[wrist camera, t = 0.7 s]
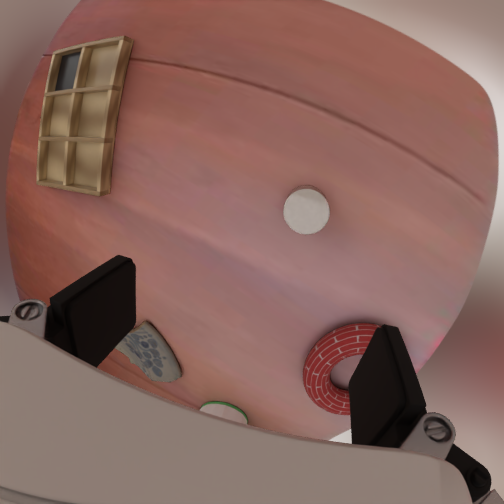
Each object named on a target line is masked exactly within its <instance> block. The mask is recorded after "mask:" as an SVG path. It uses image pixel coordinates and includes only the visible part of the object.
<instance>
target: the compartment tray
mask: <svg viewBox="0 0 504 504" xmlns="http://www.w3.org/2000/svg"><path fill="white" fill-rule="evenodd" d="M133 42H134V40H133V39H131V38H128V37H126V36H119V37H113V38H107V39H102V40H97V41H92V42H88V43H83V44H79V45H75V46H71V47H67V48H64V49H60V50H57V51H54V52H53V56H52V60H51V64H50V69H49V73H48V78H47V83H46V88H45V94H44V100H43V106H42V113H41V121H40V130H39V141H38V155H37V185H42V186H48V187H53V188H59V189H64V190H69V191H74V192H80V193H85V194H90V195H95V196H103V195H106V194H110V185H111V172H112V160H113V150H114V142H115V134H116V126H117V119H118V113H119V107H120V101H121V95H122V90H123V85H124V80H125V75H126V70H127V66H128V62H129V57H130V53H131V49H132V45H133Z"/></svg>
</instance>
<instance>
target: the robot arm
mask: <svg viewBox="0 0 504 504" xmlns="http://www.w3.org/2000/svg"><path fill="white" fill-rule="evenodd" d="M50 304H51V305H50V306H49V307H47V305H46V304H45V303H44V302H43V301H41V300H38V299H27V300H23V301H21V302H19V303H17V304H16V305H15V306H14V307H13V309H12V311H11V315H10V316H0V504H504V501H503V500H502V498H501V497H500V496H499V494H498V493H497V492H496V490H495V489H494V490H492V491H490V487H491V476H490V473H489V472H488V470H487V469H486V468H485V467H484V466H483V465H482V464H480V463H479V462H478V461H476V460H475V459H473V458H472V457H471V456H469V455H468V454H467V453H465V452H464V451H463V450H461V449H460V448H459V447H457V446H456V445H455V444H453V442H454V440H455V436H456V433H455V428H454V426H453V424H452V423H451V422H450V420H449V419H448V418H446V417H445V416H443V415H441V414H439V413H435V412H432V413H427V411H426V408H425V407H426V402H425V399H424V396H423V393H422V390H421V387H420V384H419V381H418V379H417V376H416V373H415V370H414V367H413V365H412V362H411V359H410V357H409V354H408V351H407V349H406V346H405V344H404V341H403V339H402V336H401V334H400V331H399V329H398V327H394V326H389V325H385V324H384V325H382V326H381V328H380V327H377V328H376V330H375V332H374V334H373V336H372V338H371V340H370V342H369V344H368V346H367V348H366V350H365V352H364V354H363V356H362V358H361V360H360V362H359V364H358V366H357V368H356V370H355V371H354V373H353V375H352V377H351V379H350V382H349V386H348V389H349V402H350V416H351V433H352V444H348V443H340V442H333V441H327V440H320V439H313V438H307V437H302V436H296V435H291V434H286V433H281V432H276V431H272V430H267V429H263V428H259V427H255V426H251V425H247V424H243V423H239V422H236V421H232V420H228V419H225V418H222V417H218V416H215V415H212V414H209V413H205V412H202V411H199V410H196V409H193V408H190V407H187V406H185V405H182V404H179V403H176V402H174V401H171V400H168V399H166V398H163V397H161V396H158V395H156V394H153V393H151V392H148V391H146V390H143V389H141V388H139V387H136V386H134V385H132V384H129V383H127V382H125V381H123V380H121V379H118V378H116V377H114V376H112V375H110V374H108V373H106V372H104V371H102V370H100V369H98V368H97V366H98V365H99V364H100V363H101V362H102V361H103V360H104V359H105V358H106V357H107V356H108V354H109V353H110V352H111V351H112V350H113V349H114V348H115V347H116V346H117V345H118V344H119V343H120V342H121V341H122V339H123V338H124V337H125V336H126V335H127V334H128V333H129V332H130V331H131V330H132V329H133V328H134V326H135V323H136V266H135V264H134V263H133V261H132V259H130V258H127V257H124V256H121V255H117V256H115V257H114V258H112V259H110V260H109V261H107V262H105V263H104V264H102V265H101V266H99V267H97V268H96V269H94V270H93V271H91V272H89V273H88V274H86V275H85V276H83V277H81V278H80V279H78V280H77V281H75V282H74V283H72V284H71V285H69V286H67V287H66V288H64V289H63V290H61V291H60V292H58V293H57V294H55V295H54V296H52V297H51V298H50Z"/></svg>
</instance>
